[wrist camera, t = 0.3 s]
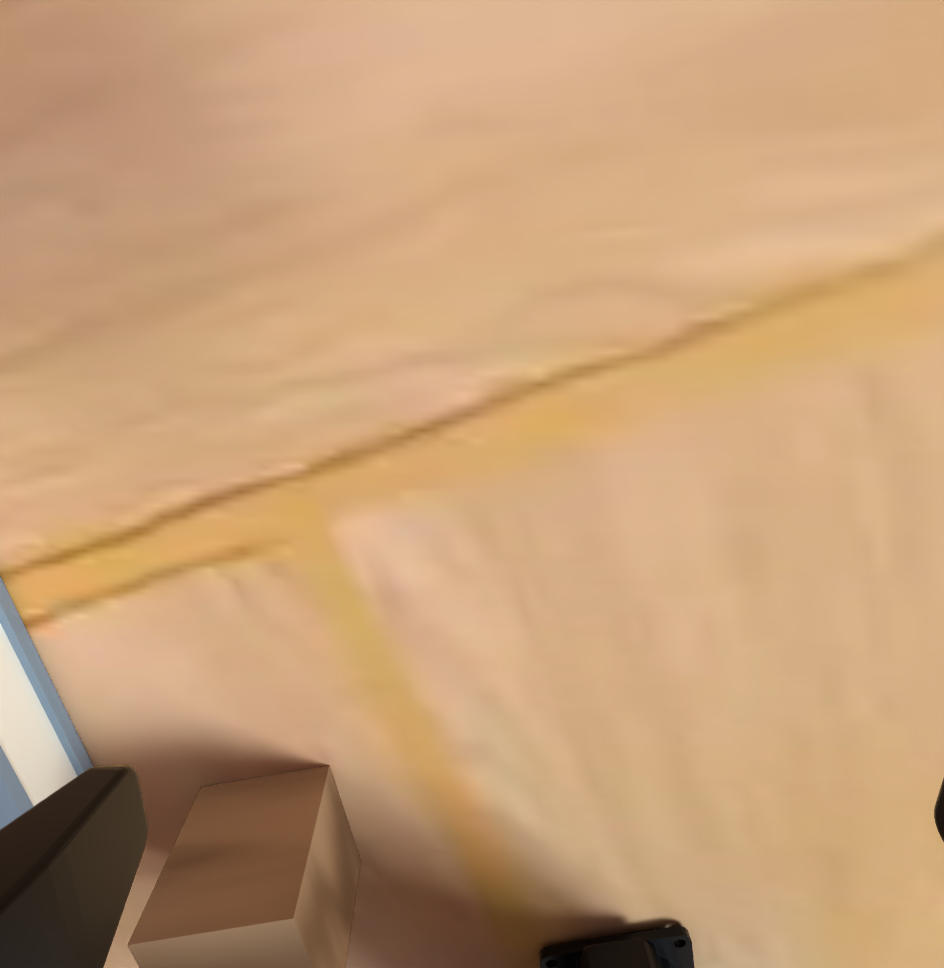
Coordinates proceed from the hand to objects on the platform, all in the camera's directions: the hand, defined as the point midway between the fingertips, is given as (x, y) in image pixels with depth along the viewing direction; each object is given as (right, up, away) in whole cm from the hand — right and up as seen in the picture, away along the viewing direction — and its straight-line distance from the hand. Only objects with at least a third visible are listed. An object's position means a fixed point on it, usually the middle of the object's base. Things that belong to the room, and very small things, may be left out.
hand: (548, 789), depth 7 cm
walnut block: (-8, -10, +18) cm, 22 cm away
